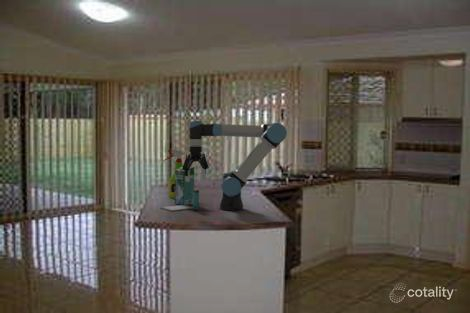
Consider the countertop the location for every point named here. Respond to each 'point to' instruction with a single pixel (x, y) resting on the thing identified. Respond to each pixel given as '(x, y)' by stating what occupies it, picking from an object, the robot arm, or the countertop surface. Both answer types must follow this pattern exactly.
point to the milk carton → (184, 187)
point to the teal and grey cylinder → (195, 199)
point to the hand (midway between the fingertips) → (195, 180)
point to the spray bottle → (177, 166)
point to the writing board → (176, 208)
